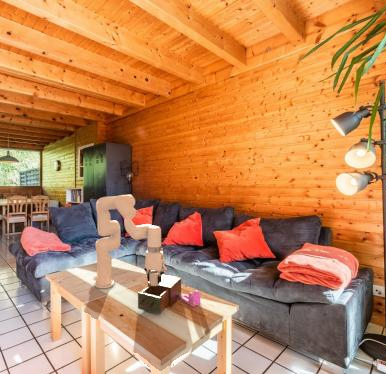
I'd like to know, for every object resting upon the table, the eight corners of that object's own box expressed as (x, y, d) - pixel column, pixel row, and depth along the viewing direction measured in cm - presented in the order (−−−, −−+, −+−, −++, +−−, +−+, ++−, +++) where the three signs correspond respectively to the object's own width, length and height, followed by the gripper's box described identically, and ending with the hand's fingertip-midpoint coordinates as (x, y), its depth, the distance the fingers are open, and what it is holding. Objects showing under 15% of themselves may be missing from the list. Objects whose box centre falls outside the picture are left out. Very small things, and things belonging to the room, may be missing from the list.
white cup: (147, 284, 139) (147, 273, 139) (152, 281, 144) (152, 269, 144) (156, 286, 137) (156, 274, 137) (161, 283, 142) (161, 271, 142)
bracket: (200, 304, 145) (200, 291, 145) (192, 306, 142) (193, 294, 142) (185, 295, 156) (185, 284, 156) (178, 297, 153) (178, 286, 152)
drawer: (156, 318, 128) (156, 301, 128) (133, 312, 134) (133, 295, 134) (171, 302, 145) (171, 287, 144) (150, 297, 151) (150, 282, 151)
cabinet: (170, 306, 142) (170, 287, 142) (147, 300, 149) (147, 282, 149) (181, 295, 156) (181, 278, 156) (159, 290, 163) (159, 273, 163)
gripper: (171, 249, 139) (171, 282, 140) (144, 245, 147) (144, 276, 148) (165, 252, 133) (165, 287, 133) (137, 248, 141) (137, 281, 141)
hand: (154, 281), depth 141 cm, fingers closed on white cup, 5 cm apart
